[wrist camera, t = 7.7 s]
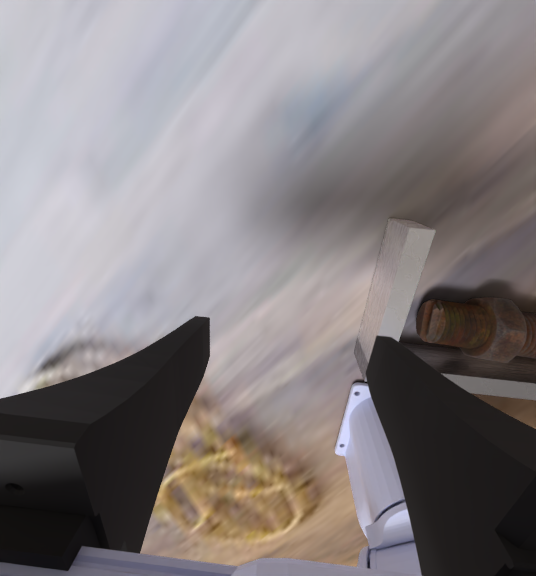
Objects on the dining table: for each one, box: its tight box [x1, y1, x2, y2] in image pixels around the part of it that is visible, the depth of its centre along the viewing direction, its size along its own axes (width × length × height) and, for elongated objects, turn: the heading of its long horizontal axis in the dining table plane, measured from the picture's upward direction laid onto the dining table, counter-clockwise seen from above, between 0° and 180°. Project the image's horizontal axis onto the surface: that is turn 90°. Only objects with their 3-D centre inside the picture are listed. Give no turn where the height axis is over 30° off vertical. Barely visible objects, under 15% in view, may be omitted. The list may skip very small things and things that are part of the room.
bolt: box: [416, 297, 536, 363], centre depth 19 cm, size 6×5×15 cm
